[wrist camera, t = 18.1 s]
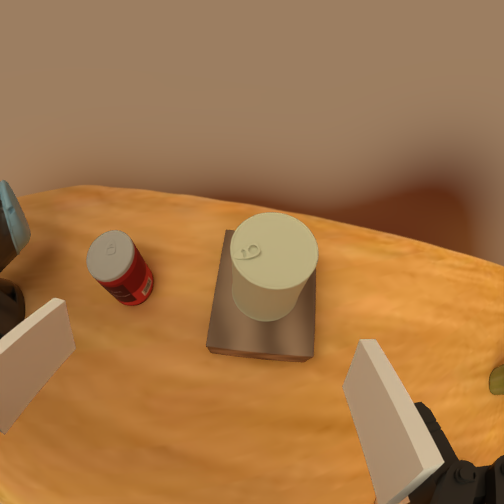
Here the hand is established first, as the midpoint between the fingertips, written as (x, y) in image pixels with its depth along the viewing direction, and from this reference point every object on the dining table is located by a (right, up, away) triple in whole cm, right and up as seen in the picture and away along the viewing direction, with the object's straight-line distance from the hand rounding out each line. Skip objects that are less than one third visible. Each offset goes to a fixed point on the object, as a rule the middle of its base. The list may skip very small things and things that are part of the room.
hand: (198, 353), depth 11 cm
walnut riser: (+4, -4, +33) cm, 33 cm away
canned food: (-18, -2, +33) cm, 38 cm away
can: (+4, -1, +28) cm, 28 cm away
